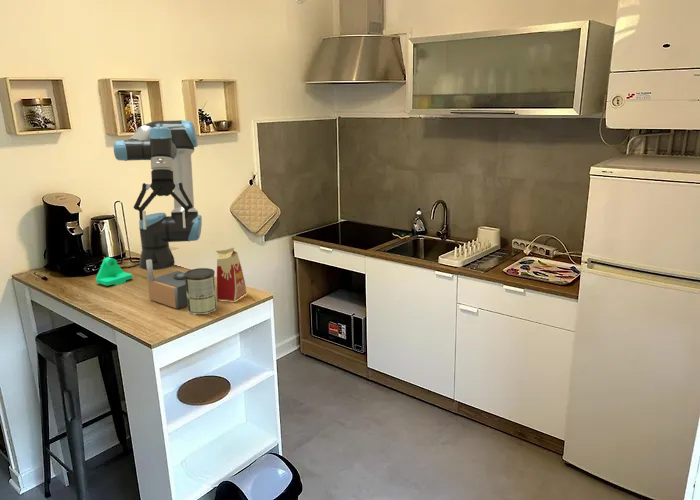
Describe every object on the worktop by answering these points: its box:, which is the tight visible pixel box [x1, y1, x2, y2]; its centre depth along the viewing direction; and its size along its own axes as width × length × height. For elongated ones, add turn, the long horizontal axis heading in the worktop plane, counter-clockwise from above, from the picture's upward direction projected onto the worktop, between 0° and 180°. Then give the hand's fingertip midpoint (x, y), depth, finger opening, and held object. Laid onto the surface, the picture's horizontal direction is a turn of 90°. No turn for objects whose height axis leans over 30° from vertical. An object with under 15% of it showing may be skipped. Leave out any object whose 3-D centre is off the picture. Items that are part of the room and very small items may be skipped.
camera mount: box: [95, 256, 133, 286], centre depth 221 cm, size 12×8×10 cm, turn 146°
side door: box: [146, 259, 180, 310], centre depth 195 cm, size 2×17×16 cm, turn 54°
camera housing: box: [154, 270, 188, 309], centre depth 201 cm, size 12×16×9 cm
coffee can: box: [183, 267, 218, 315], centre depth 190 cm, size 10×10×14 cm
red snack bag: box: [215, 247, 248, 301], centre depth 201 cm, size 9×9×20 cm
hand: (164, 228), depth 194 cm, fingers open, 13 cm apart
